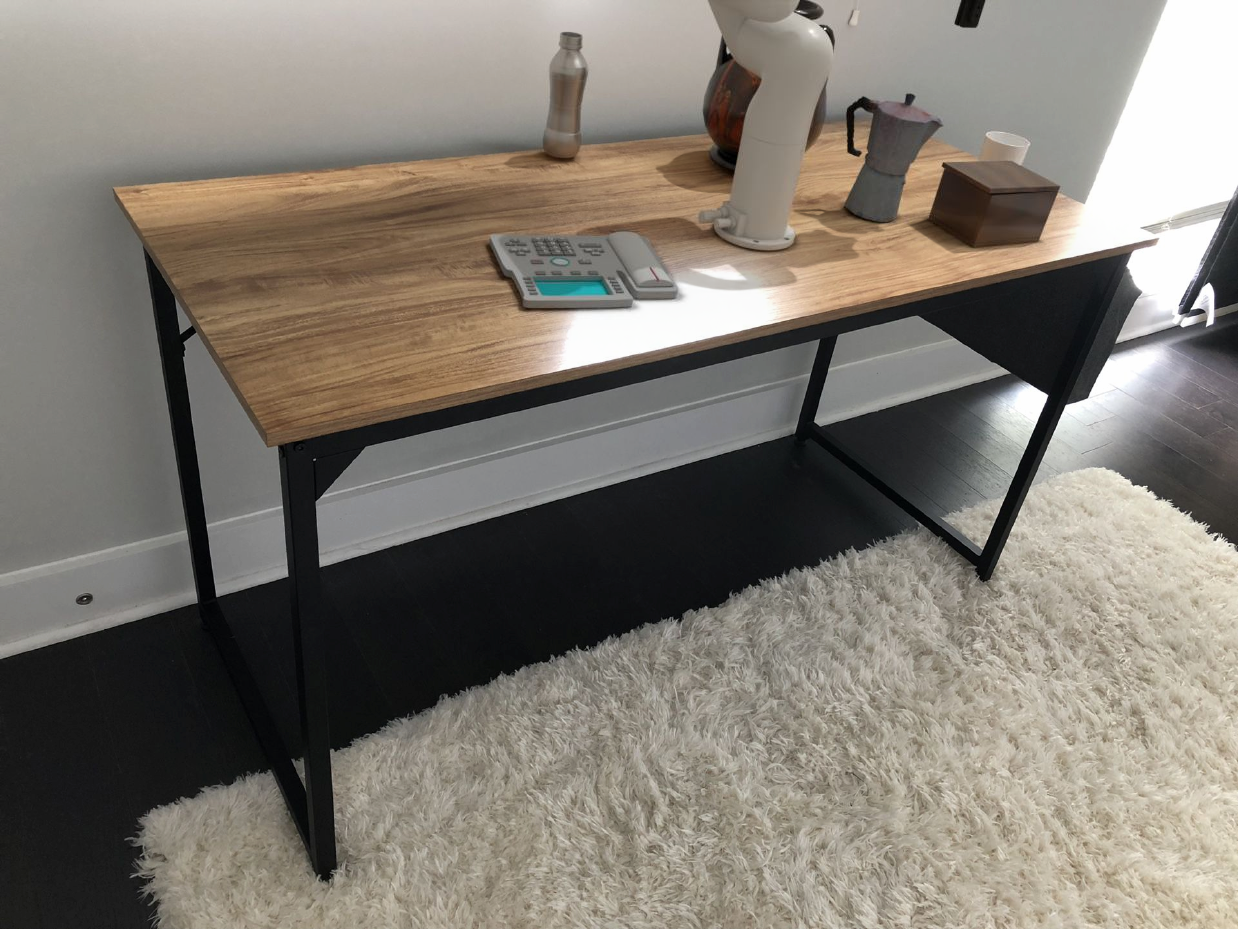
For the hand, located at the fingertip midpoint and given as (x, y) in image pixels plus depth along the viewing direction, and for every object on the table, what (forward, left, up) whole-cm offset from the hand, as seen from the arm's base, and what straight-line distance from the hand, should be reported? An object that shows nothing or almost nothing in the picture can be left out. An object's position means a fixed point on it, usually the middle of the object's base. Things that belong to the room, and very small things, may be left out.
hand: (965, 26), depth 146 cm
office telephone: (-62, -8, -31) cm, 70 cm away
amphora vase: (-14, +27, -31) cm, 44 cm away
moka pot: (-4, +5, -31) cm, 32 cm away
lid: (+13, -5, -22) cm, 26 cm away
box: (+13, -5, -31) cm, 34 cm away
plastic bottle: (-48, +36, -31) cm, 68 cm away
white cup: (+28, +10, -31) cm, 43 cm away
